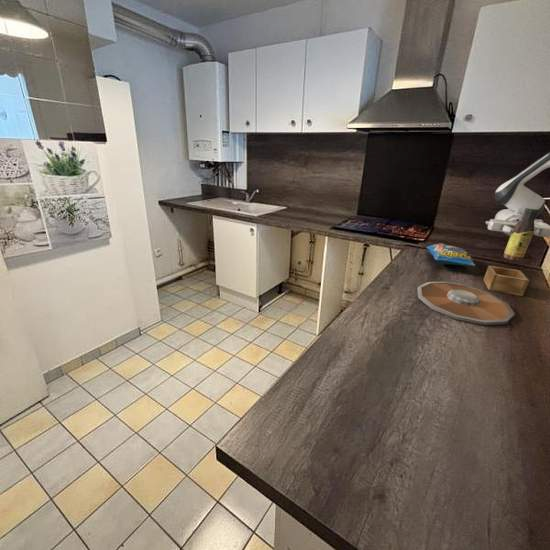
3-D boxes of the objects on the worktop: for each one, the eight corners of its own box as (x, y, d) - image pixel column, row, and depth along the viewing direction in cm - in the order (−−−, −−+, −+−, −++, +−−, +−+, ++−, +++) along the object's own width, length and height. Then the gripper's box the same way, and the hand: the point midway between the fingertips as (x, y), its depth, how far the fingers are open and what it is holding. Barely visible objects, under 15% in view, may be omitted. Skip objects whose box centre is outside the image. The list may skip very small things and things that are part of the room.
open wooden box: (514, 285, 120) (520, 270, 117) (522, 296, 111) (529, 280, 108) (483, 279, 124) (488, 265, 121) (488, 289, 115) (494, 274, 112)
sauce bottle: (514, 262, 111) (534, 210, 103) (498, 256, 117) (516, 206, 108) (526, 261, 113) (547, 209, 105) (510, 255, 118) (529, 206, 110)
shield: (427, 270, 122) (516, 292, 106) (425, 277, 123) (513, 300, 107) (408, 296, 100) (517, 329, 84) (406, 304, 101) (513, 338, 85)
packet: (432, 269, 132) (437, 251, 129) (424, 253, 153) (428, 237, 149) (474, 275, 128) (481, 257, 124) (460, 258, 149) (466, 242, 145)
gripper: (486, 214, 123) (494, 220, 112) (546, 220, 116) (561, 227, 105) (482, 228, 126) (488, 236, 114) (540, 235, 119) (553, 244, 107)
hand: (524, 232), depth 109 cm, fingers closed on sauce bottle, 6 cm apart
